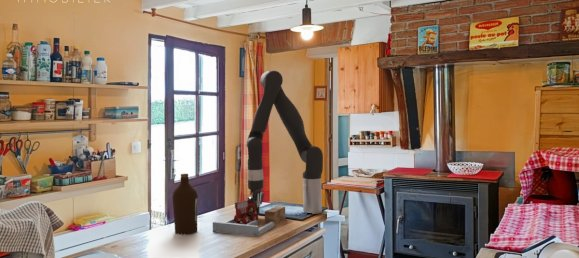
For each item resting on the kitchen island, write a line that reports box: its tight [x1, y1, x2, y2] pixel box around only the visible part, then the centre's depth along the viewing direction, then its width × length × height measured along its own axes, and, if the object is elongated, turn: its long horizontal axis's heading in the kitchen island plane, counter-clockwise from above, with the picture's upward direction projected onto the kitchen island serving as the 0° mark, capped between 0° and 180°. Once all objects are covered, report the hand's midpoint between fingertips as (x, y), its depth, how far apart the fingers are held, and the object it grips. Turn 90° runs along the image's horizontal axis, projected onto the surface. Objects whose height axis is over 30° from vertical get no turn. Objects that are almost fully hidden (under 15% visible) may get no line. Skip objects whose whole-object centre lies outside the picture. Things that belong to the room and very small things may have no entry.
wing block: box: [264, 205, 286, 225], centre depth 214 cm, size 12×4×6 cm, turn 155°
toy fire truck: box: [233, 198, 259, 225], centre depth 212 cm, size 7×12×10 cm, turn 138°
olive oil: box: [171, 173, 199, 235], centre depth 198 cm, size 11×11×25 cm
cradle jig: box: [212, 217, 276, 237], centre depth 202 cm, size 16×22×4 cm
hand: (256, 214), depth 221 cm, fingers closed
